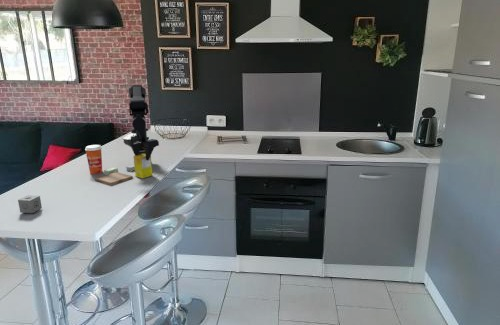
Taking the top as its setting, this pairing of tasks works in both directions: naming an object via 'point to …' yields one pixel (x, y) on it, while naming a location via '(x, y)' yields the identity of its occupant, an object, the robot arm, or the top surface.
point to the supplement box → (142, 166)
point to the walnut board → (113, 178)
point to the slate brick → (130, 168)
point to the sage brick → (110, 171)
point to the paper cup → (94, 158)
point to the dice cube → (29, 204)
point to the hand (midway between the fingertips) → (142, 159)
